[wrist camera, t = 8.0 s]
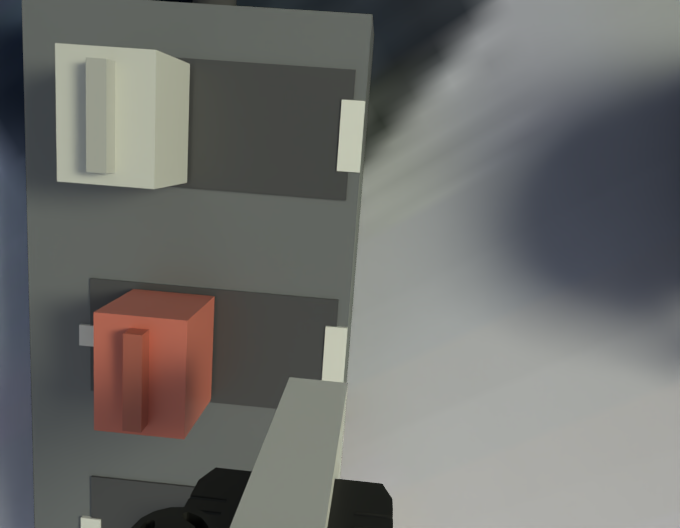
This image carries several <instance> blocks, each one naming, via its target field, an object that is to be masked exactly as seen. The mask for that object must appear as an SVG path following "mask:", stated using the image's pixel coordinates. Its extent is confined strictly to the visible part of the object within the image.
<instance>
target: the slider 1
mask: <svg viewBox="0 0 680 528" xmlns="http://www.w3.org/2000/svg"><path fill="white" fill-rule="evenodd" d="M55 80H56V148H57V181H58V182H70V183H83V184H95V185H108V186H120V187H133V188H145V189H158V188H163V187H168V186H173V185H178V184H183V183H187V164H188V125H189V85H190V64H189V63H187V62H184V61H182V60H179V59H177V58H175V57H172V56H170V55H167V54H165V53H163V52H160V51H158V50H151V49H136V48H121V47H107V46H92V45H77V44H62V43H55Z"/></svg>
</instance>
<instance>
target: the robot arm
mask: <svg viewBox="0 0 680 528" xmlns="http://www.w3.org/2000/svg"><path fill="white" fill-rule="evenodd" d="M347 386H348V383H343V382H333V381H323V380H313V379H303V378H293V377H289V380H288V382H287V385H286V387H285V390H284V392H283V395H282V397H281V400H280V402H279V405H278V407H277V410H276V412H275V415H274V417H273V420H272V422H271V425H270V428H269V430H268V433H267V435H266V438H265V440H264V443H263V445H262V448H261V450H260V453H259V455H258V458H257V460H256V463H255V465H254V468H253V470H252V471H244V470H235V469H226V468H217V467H215V468H214V469H213V470H211V471H210V472H209V473H207V474H206V475H205V476H203V477H202V478H200V479H199V480H198V482H197V484H196V486H195V488H194V489H193V491H192V493H191V495H190V498H189V499H188V501H187V502H186V504H185V506H184V507H169V508H165V509H161V510H157V511H154V512H152V513H150V514H148V515H146V516H144V517H142V518H140V519H139V520H138V521H137V522H136V523H135V524H134V525H133V526H132V527H131V528H393V519H392V517H393V507H392V498H391V496H390V495H389V493H388V492H387V490H386V489H385V487H384V486H383V484H380V483H370V482H361V481H352V480H343V479H340V471H341V459H342V446H343V434H344V422H345V410H346V398H347Z"/></svg>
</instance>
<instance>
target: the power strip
mask: <svg viewBox="0 0 680 528" xmlns="http://www.w3.org/2000/svg"><path fill="white" fill-rule="evenodd" d="M22 28H23V69H24V110H25V151H26V193H27V234H28V275H29V316H30V358H31V399H32V440H33V481H34V523H35V528H131V527H132V526H133V525H134V524H135V523H136V522H137V521H138V520H139V519H140V518H142V517H144V516H146V515H148V514H150V513H152V512H154V511H157V510H161V509H165V508H169V507H184V506H185V504H186V502H187V501H188V499H189V498H190V495H191V493H192V491H193V489H194V488H195V486H196V484H197V482H198V480H199V479H200V478H202V477H203V476H205V475H206V474H207V473H209V472H210V471H211V470H213V469H214V468H215V467H217V468H226V469H235V470H244V471H252V470H253V468H254V465H255V463H256V460H257V458H258V455H259V453H260V450H261V448H262V445H263V443H264V440H265V438H266V435H267V433H268V430H269V428H270V425H271V422H272V420H273V417H274V415H275V412H276V410H277V407H278V405H279V402H280V400H281V397H282V395H283V392H284V390H285V387H286V385H287V382H288V380H289V377H293V378H303V379H313V380H323V381H333V382H343V383H346V382H347V369H348V357H349V344H350V332H351V319H352V306H353V294H354V281H355V269H356V256H357V243H358V231H359V218H360V205H361V193H362V180H363V168H364V155H365V142H366V130H367V117H368V105H369V92H370V79H371V67H372V54H373V42H374V29H373V17H372V14H357V13H341V12H325V11H309V10H293V9H278V8H262V7H246V6H236V0H193V3H183V2H167V1H151V0H22ZM55 43H62V44H77V45H92V46H107V47H121V48H136V49H151V50H158V51H160V52H163V53H165V54H167V55H170V56H172V57H175V58H177V59H179V60H182V61H184V62H187V63H189V64H190V85H189V125H188V164H187V183H183V184H178V185H173V186H168V187H163V188H158V189H145V188H133V187H120V186H108V185H95V184H83V183H70V182H58V181H57V148H56V80H55ZM133 289H139V290H150V291H162V292H173V293H184V294H196V295H207V296H215V299H214V328H213V356H212V385H211V400H210V402H209V403H208V405H207V406H206V408H205V409H204V411H203V412H202V414H201V415H200V417H199V418H198V420H197V421H196V423H195V424H194V426H193V427H192V429H191V430H190V432H189V433H188V435H187V436H186V438H185V439H175V438H165V437H155V436H145V435H135V434H126V433H116V432H106V431H96V430H94V312H95V311H96V310H98V309H100V308H102V307H103V306H105V305H107V304H108V303H110V302H112V301H114V300H115V299H117V298H119V297H121V296H122V295H124V294H126V293H127V292H129V291H131V290H133Z"/></svg>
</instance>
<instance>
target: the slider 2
mask: <svg viewBox="0 0 680 528" xmlns="http://www.w3.org/2000/svg"><path fill="white" fill-rule="evenodd" d="M214 299H215V296H207V295H196V294H184V293H173V292H162V291H150V290H139V289H133V290H131V291H129V292H127V293H126V294H124V295H122V296H121V297H119V298H117V299H115V300H114V301H112V302H110V303H108V304H107V305H105V306H103V307H102V308H100V309H98V310H96V311H95V312H94V430H96V431H106V432H116V433H126V434H135V435H145V436H155V437H165V438H175V439H185V438H186V436H187V435H188V433H189V432H190V430H191V429H192V427H193V426H194V424H195V423H196V421H197V420H198V418H199V417H200V415H201V414H202V412H203V411H204V409H205V408H206V406H207V405H208V403H209V402H210V400H211V385H212V356H213V328H214Z"/></svg>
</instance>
